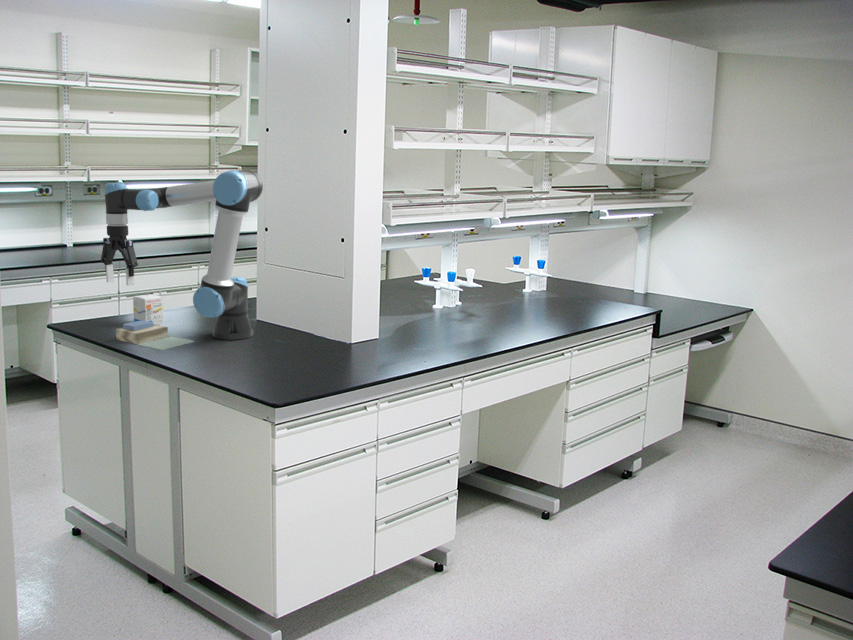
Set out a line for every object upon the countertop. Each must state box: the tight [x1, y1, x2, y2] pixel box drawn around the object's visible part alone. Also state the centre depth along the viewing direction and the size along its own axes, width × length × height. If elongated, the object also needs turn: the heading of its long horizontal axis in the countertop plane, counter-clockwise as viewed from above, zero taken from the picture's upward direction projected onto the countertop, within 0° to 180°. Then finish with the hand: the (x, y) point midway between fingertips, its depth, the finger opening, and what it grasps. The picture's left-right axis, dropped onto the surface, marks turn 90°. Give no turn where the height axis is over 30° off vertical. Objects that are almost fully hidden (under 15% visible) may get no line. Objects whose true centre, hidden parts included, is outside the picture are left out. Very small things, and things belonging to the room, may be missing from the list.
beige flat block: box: [115, 324, 169, 345], centre depth 304 cm, size 12×14×4 cm
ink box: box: [132, 293, 164, 326], centre depth 327 cm, size 9×8×12 cm
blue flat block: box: [122, 320, 153, 331], centre depth 305 cm, size 6×9×2 cm, turn 150°
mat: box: [137, 336, 195, 351], centre depth 298 cm, size 12×16×1 cm
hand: (120, 283), depth 306 cm, fingers open, 10 cm apart
